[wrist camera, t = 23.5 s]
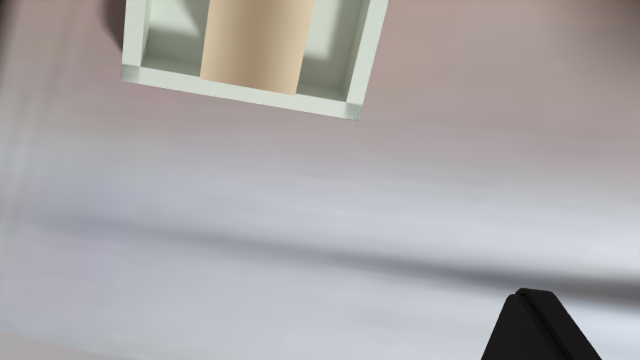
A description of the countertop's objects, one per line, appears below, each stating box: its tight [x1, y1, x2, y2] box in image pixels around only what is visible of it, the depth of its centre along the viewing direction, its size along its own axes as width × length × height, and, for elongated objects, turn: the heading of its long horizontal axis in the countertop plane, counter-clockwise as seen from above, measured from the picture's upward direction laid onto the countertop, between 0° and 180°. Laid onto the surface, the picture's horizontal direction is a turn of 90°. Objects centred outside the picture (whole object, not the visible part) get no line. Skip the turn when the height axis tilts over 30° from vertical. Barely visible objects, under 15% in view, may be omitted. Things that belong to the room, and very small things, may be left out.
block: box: [200, 0, 315, 96], centre depth 33 cm, size 5×5×6 cm
